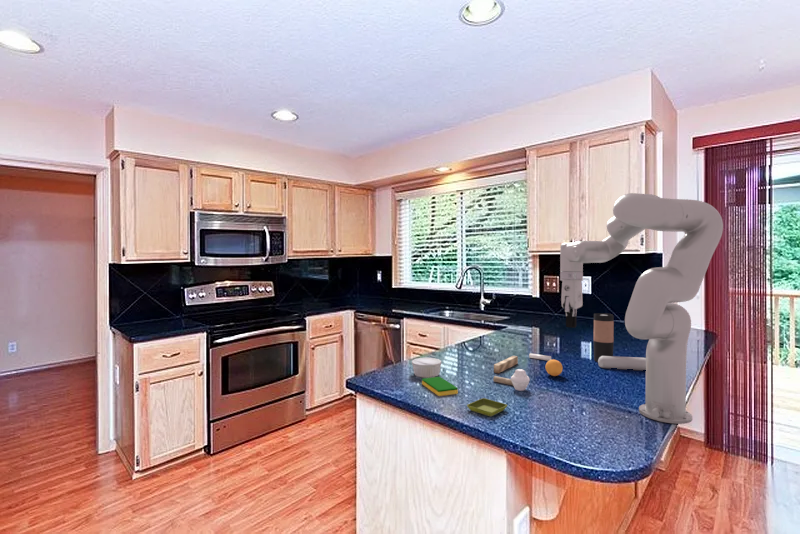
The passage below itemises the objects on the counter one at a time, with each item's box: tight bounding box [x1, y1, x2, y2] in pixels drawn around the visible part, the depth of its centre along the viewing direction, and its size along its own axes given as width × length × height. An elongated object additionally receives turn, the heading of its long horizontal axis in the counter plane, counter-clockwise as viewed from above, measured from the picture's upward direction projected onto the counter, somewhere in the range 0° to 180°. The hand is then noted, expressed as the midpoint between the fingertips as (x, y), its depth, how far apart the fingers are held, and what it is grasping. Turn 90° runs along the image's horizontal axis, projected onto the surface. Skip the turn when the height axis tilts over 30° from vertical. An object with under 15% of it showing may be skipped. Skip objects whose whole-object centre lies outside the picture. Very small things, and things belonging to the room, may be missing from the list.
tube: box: [597, 355, 646, 371], centre depth 163 cm, size 5×5×25 cm
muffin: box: [510, 368, 531, 392], centre depth 139 cm, size 6×6×7 cm
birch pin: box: [492, 375, 514, 387], centre depth 145 cm, size 2×2×9 cm
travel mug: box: [593, 312, 615, 363], centre depth 175 cm, size 8×8×20 cm
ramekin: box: [411, 357, 442, 379], centre depth 157 cm, size 11×11×5 cm
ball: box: [544, 359, 563, 377], centre depth 154 cm, size 6×6×6 cm
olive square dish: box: [466, 397, 508, 417], centre depth 120 cm, size 9×9×2 cm
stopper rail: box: [493, 355, 519, 374], centre depth 165 cm, size 18×2×3 cm, turn 141°
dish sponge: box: [421, 376, 459, 397], centre depth 140 cm, size 7×14×2 cm, turn 21°
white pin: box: [528, 352, 552, 362], centre depth 179 cm, size 2×2×9 cm
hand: (571, 326), depth 149 cm, fingers closed
